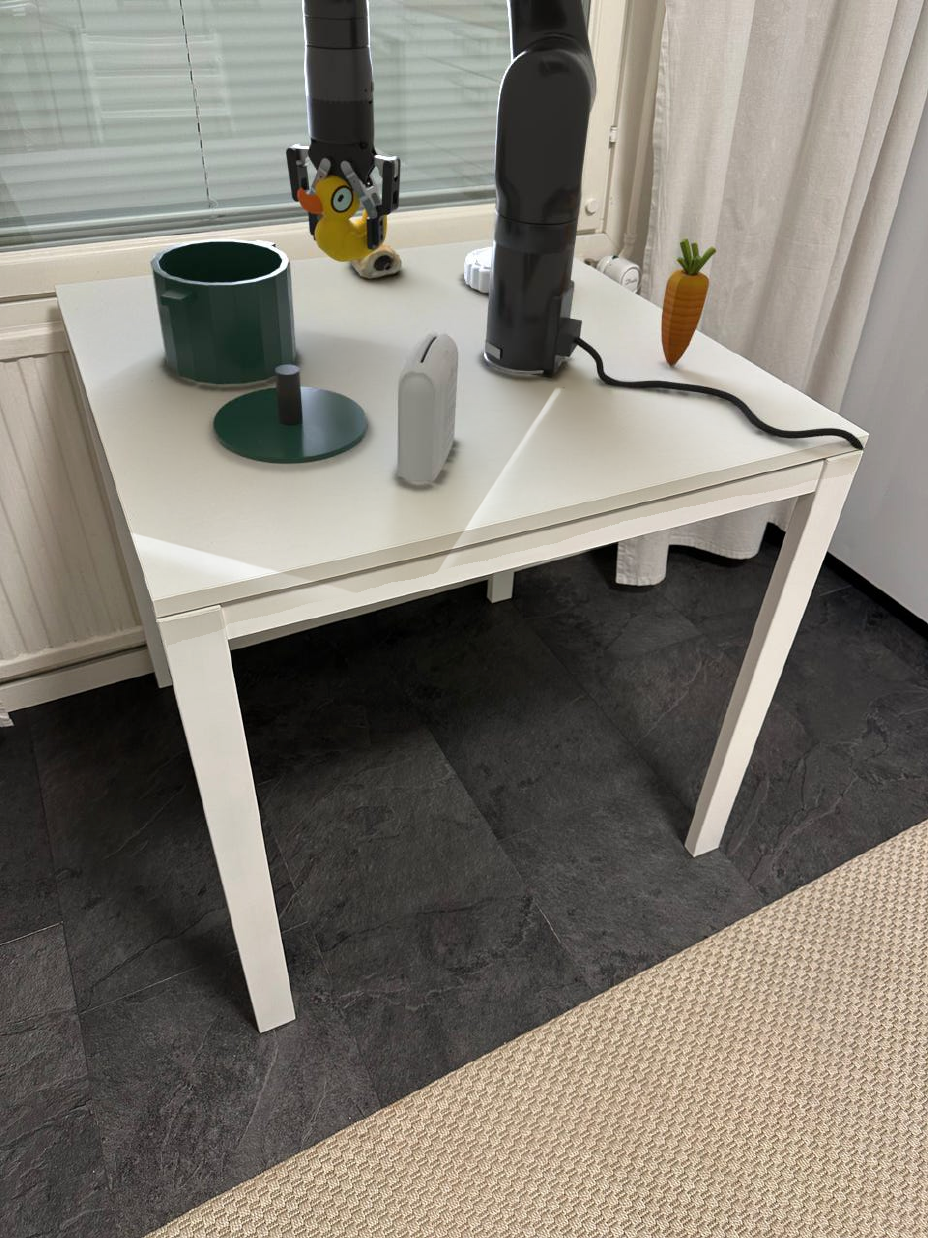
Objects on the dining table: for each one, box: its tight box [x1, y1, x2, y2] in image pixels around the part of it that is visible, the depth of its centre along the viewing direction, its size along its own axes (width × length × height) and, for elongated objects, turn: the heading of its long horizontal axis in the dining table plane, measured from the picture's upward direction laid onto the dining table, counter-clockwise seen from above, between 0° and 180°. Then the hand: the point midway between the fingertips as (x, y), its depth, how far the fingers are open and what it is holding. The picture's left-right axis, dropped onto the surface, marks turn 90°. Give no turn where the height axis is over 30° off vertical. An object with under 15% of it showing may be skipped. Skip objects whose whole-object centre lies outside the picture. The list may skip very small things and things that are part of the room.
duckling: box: [297, 175, 388, 263], centre depth 112 cm, size 11×5×10 cm, turn 121°
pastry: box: [350, 243, 403, 280], centre depth 133 cm, size 9×7×4 cm
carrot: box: [660, 238, 717, 367], centre depth 108 cm, size 5×5×15 cm
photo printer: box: [396, 332, 459, 483], centre depth 88 cm, size 10×4×12 cm, turn 168°
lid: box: [212, 364, 368, 464], centre depth 93 cm, size 16×16×7 cm
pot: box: [149, 238, 297, 386], centre depth 104 cm, size 15×20×12 cm
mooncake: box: [463, 246, 492, 294], centre depth 131 cm, size 12×12×4 cm
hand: (347, 243), depth 114 cm, fingers closed on duckling, 6 cm apart
